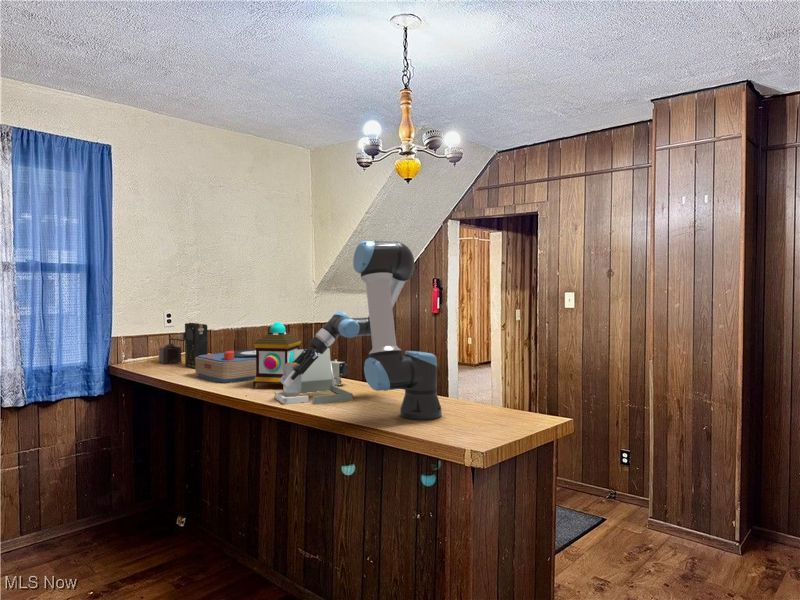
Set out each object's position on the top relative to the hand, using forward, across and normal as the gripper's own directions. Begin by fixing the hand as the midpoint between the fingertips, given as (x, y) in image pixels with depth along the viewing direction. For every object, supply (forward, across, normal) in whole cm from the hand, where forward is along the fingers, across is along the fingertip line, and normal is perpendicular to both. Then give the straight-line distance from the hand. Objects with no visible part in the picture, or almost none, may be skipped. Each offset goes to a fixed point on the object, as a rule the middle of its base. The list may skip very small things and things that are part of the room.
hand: (283, 383), depth 228 cm
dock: (+2, 0, -8) cm, 8 cm away
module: (0, 0, -5) cm, 5 cm away
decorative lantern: (+1, +33, -10) cm, 34 cm away
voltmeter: (+19, +110, +8) cm, 112 cm away
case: (-7, +1, -17) cm, 19 cm away
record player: (+6, +72, -6) cm, 73 cm away
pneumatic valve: (-17, +23, -28) cm, 40 cm away
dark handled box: (+26, +137, +14) cm, 140 cm away
